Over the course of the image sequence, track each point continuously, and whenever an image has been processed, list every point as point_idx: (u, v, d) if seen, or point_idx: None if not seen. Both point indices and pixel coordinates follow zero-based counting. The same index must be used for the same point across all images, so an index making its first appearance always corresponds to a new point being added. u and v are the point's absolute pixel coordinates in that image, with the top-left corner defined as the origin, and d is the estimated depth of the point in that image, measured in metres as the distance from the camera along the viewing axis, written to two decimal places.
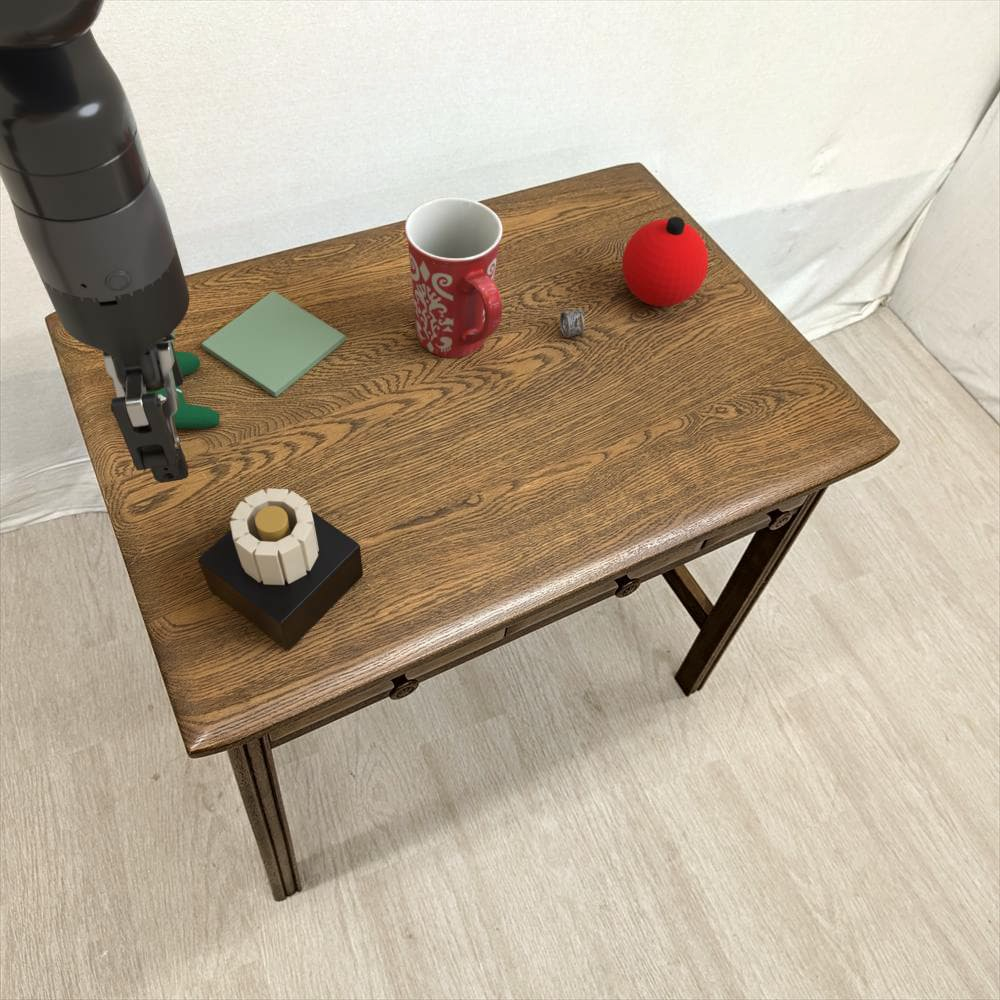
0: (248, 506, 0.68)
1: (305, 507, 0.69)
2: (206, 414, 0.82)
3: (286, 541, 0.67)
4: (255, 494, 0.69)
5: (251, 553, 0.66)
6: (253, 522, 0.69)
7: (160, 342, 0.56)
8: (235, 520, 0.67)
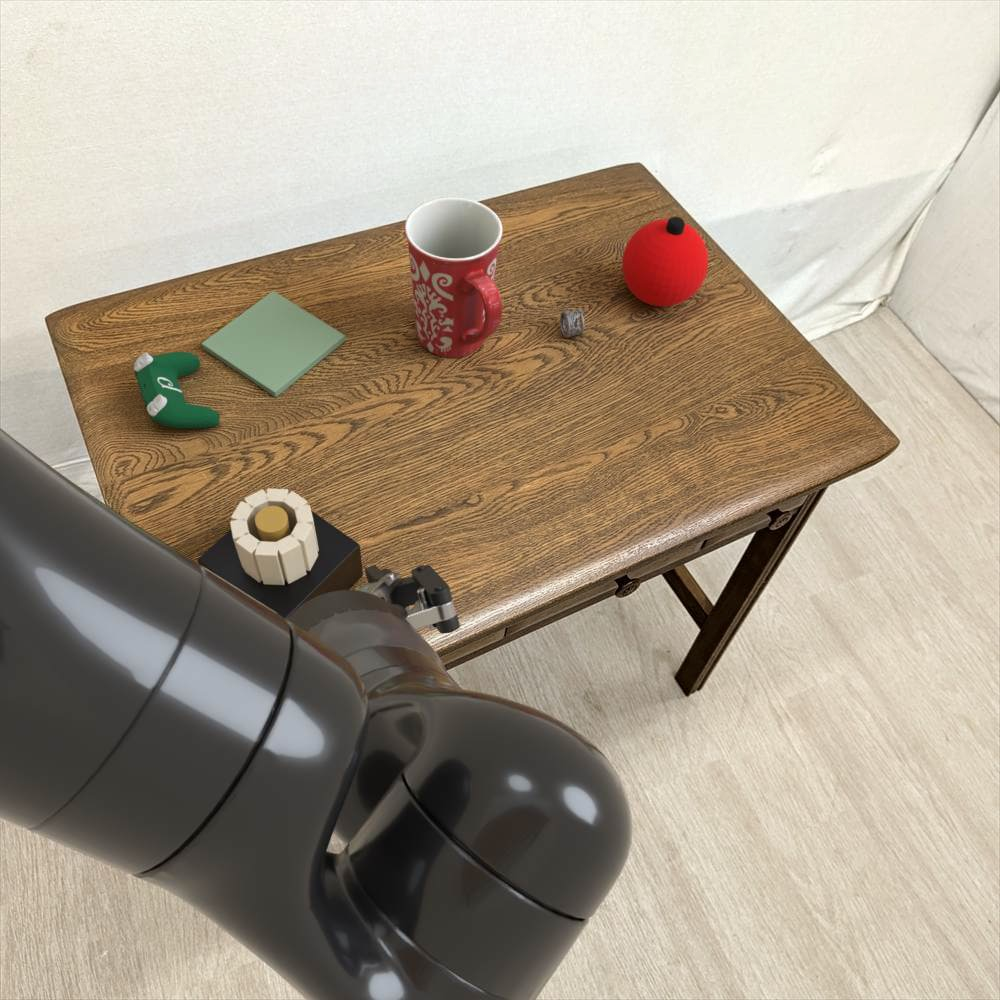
0: (248, 506, 0.68)
1: (305, 507, 0.69)
2: (206, 414, 0.82)
3: (286, 541, 0.67)
4: (255, 494, 0.69)
5: (251, 553, 0.66)
6: (253, 522, 0.69)
7: None
8: (235, 520, 0.67)
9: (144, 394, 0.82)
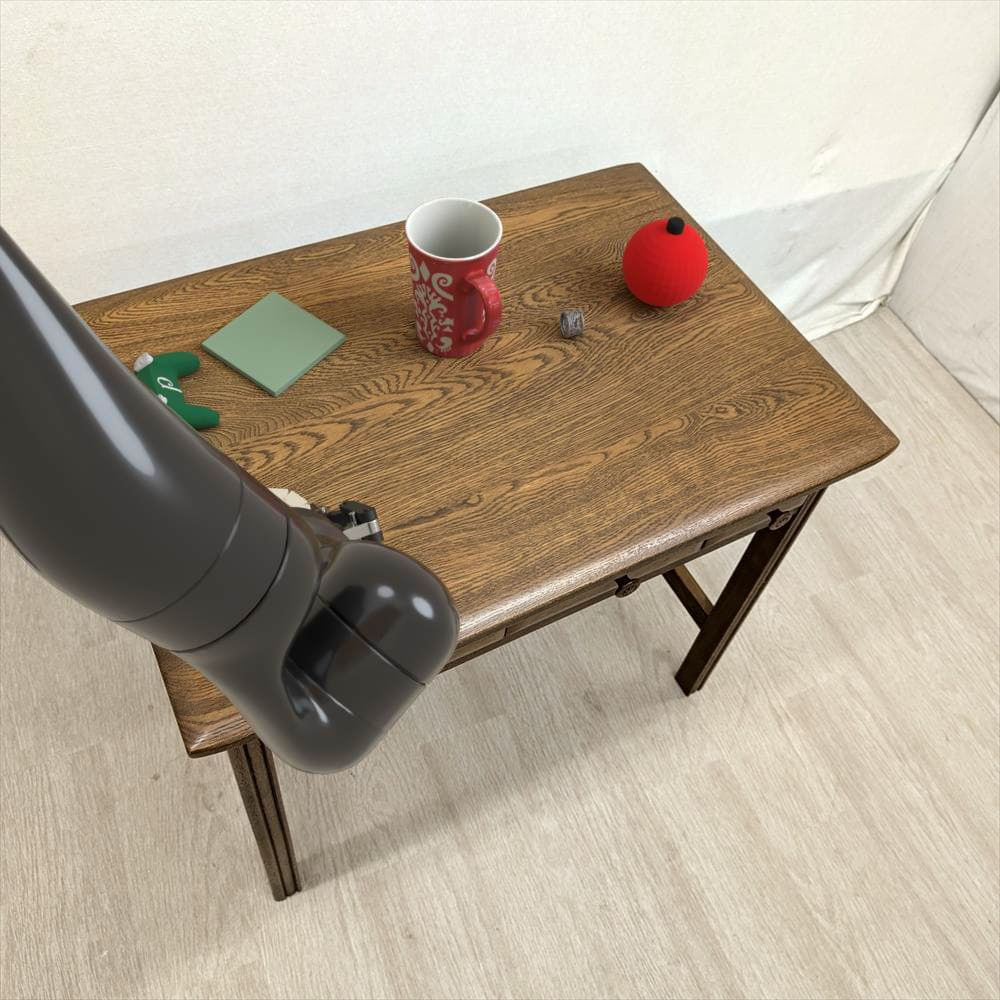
0: None
1: (305, 507, 0.69)
2: (206, 414, 0.82)
3: None
4: None
5: None
6: None
7: None
8: None
9: None
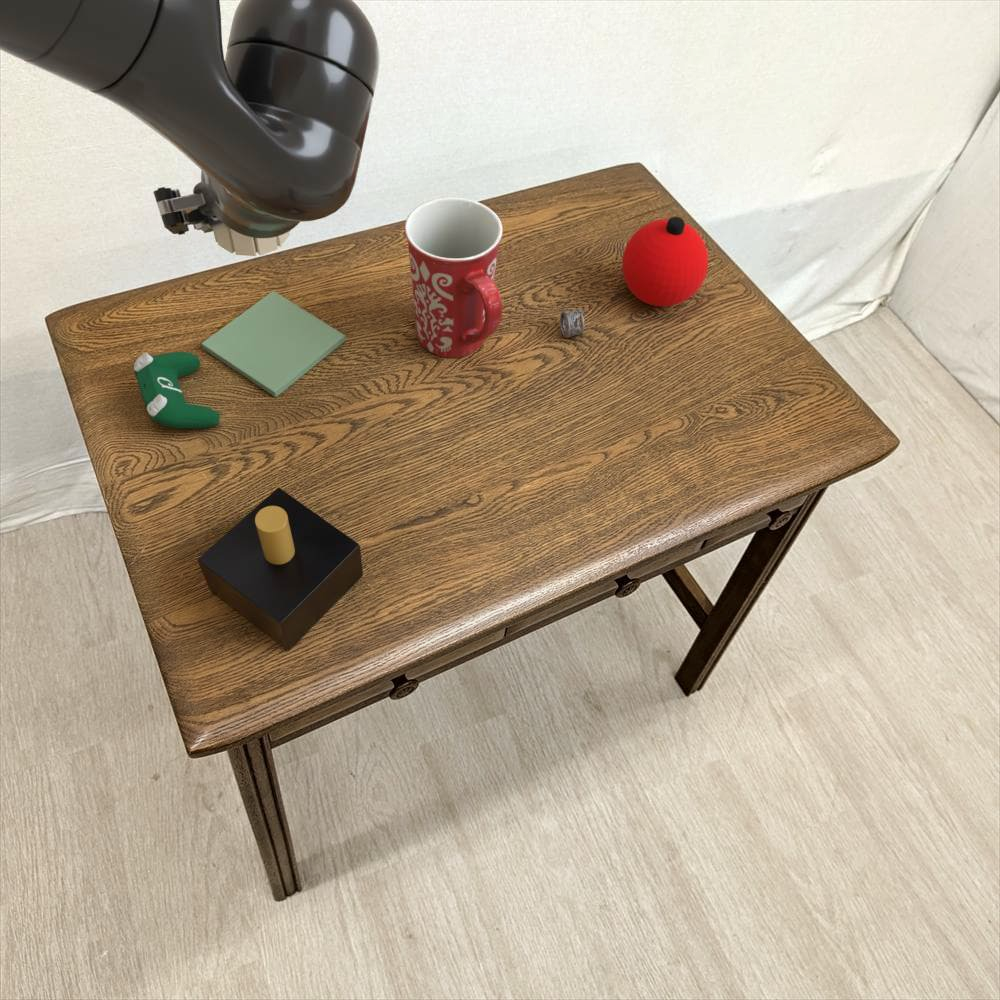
0: None
1: None
2: (206, 414, 0.82)
3: None
4: None
5: None
6: None
7: None
8: None
9: (144, 394, 0.82)
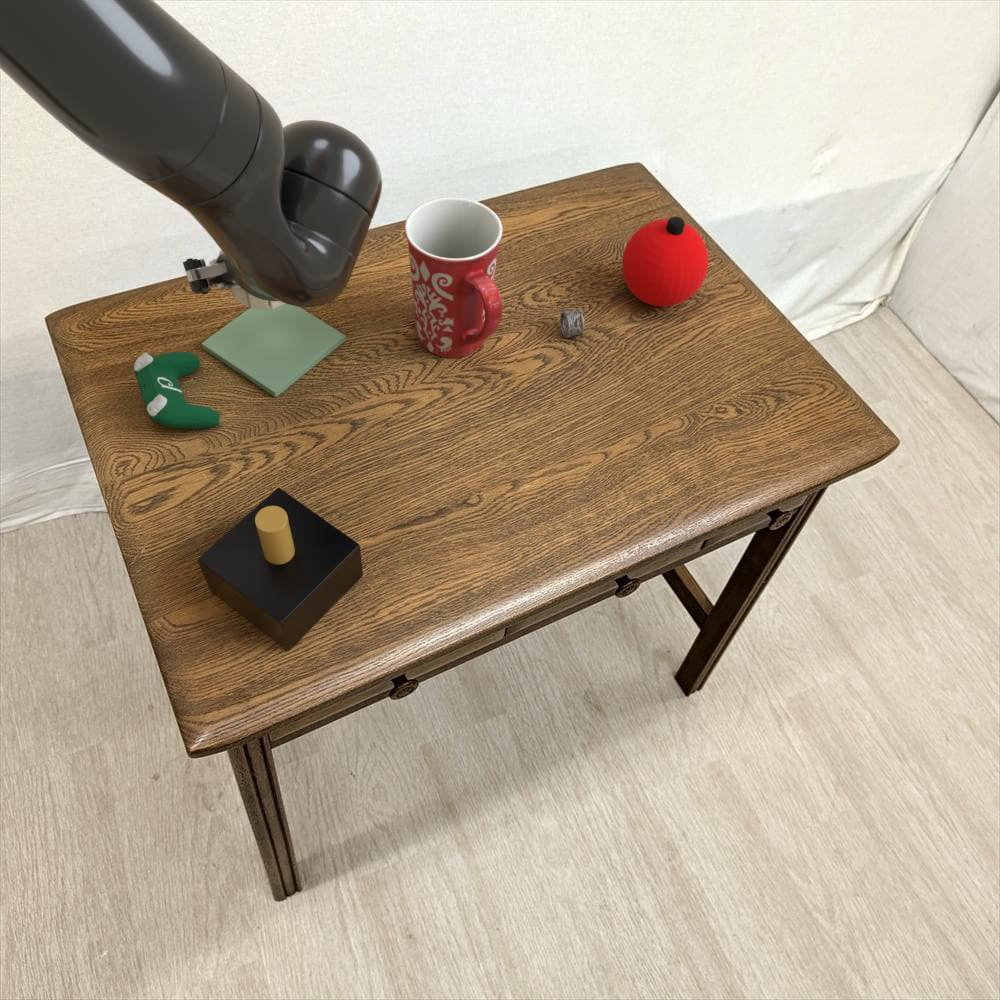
0: None
1: None
2: (206, 414, 0.82)
3: None
4: None
5: None
6: None
7: None
8: None
9: (144, 394, 0.82)
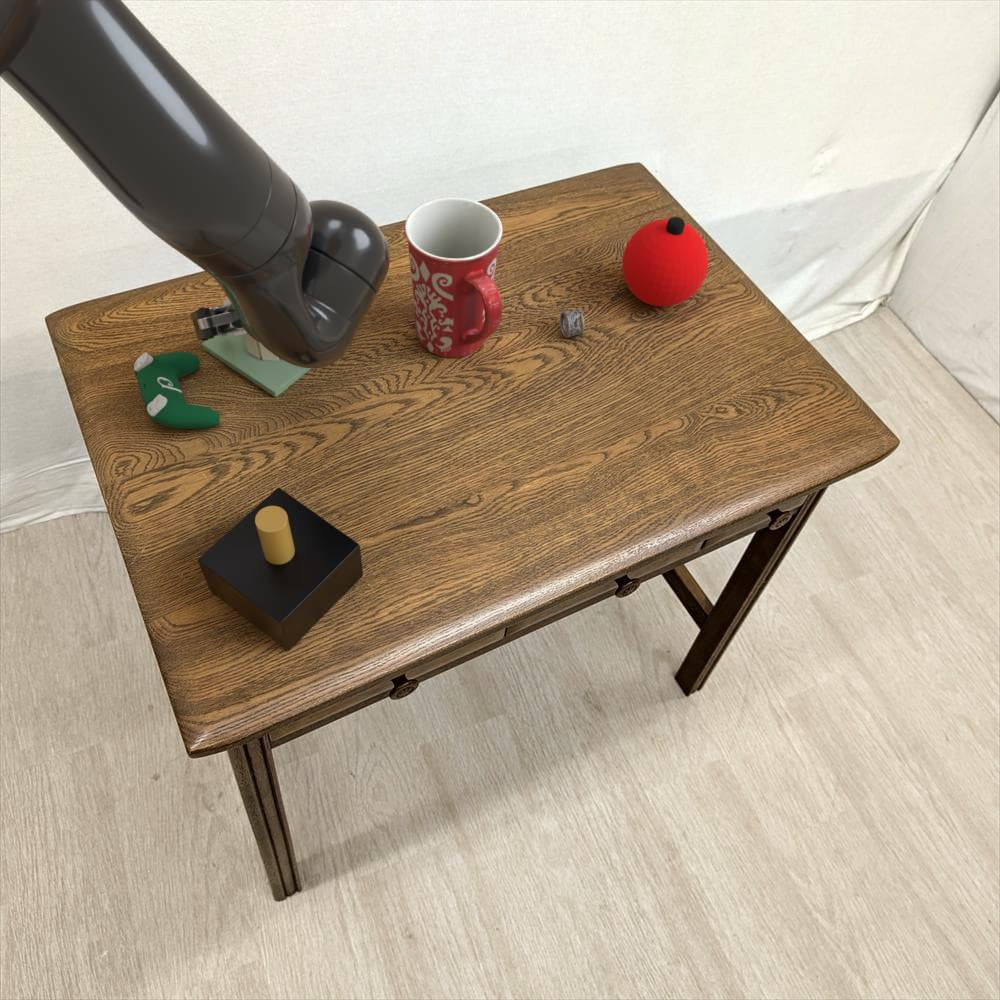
0: None
1: None
2: (206, 414, 0.82)
3: None
4: None
5: None
6: None
7: None
8: None
9: (144, 394, 0.82)
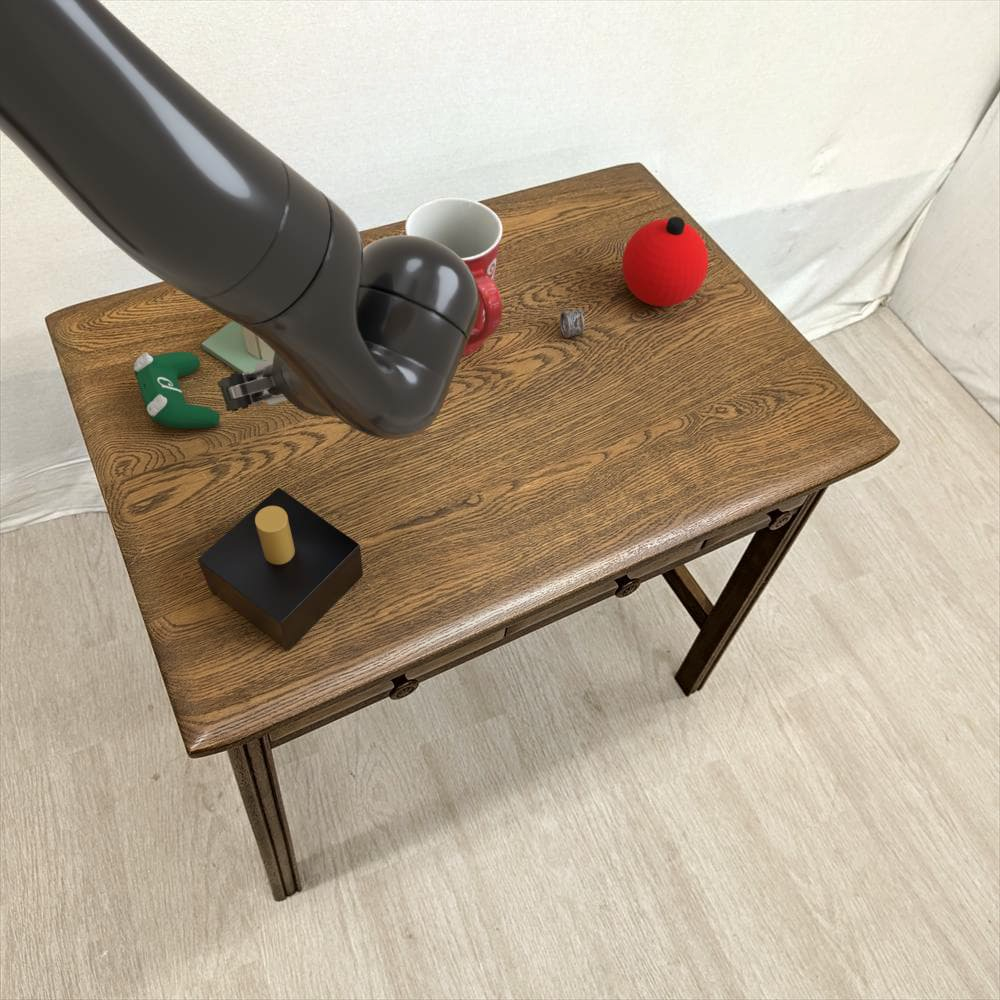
0: None
1: None
2: (206, 414, 0.82)
3: None
4: None
5: None
6: None
7: None
8: None
9: (144, 394, 0.82)
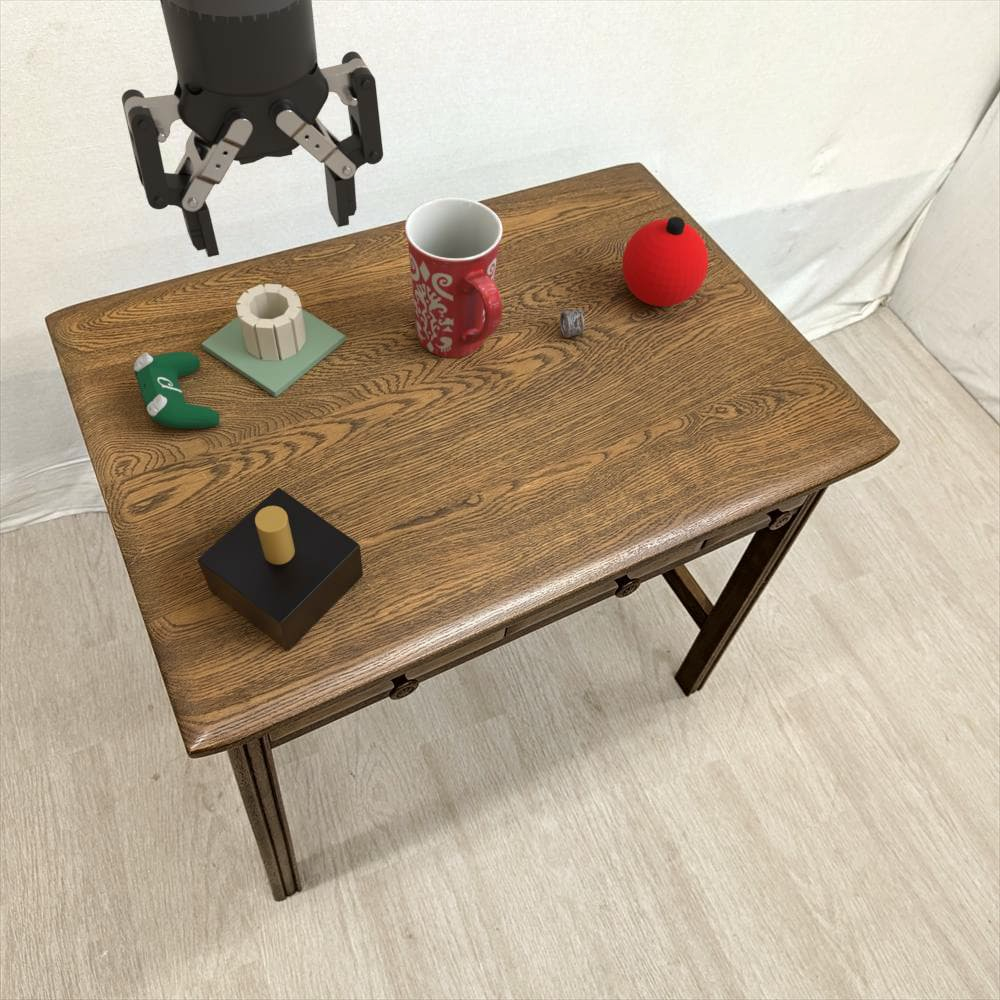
0: (250, 295, 0.87)
1: (295, 297, 0.87)
2: (206, 414, 0.82)
3: (280, 319, 0.85)
4: (255, 287, 0.88)
5: (252, 326, 0.85)
6: (254, 310, 0.88)
7: (240, 113, 0.49)
8: (240, 304, 0.86)
9: (144, 394, 0.82)
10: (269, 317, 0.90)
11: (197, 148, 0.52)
